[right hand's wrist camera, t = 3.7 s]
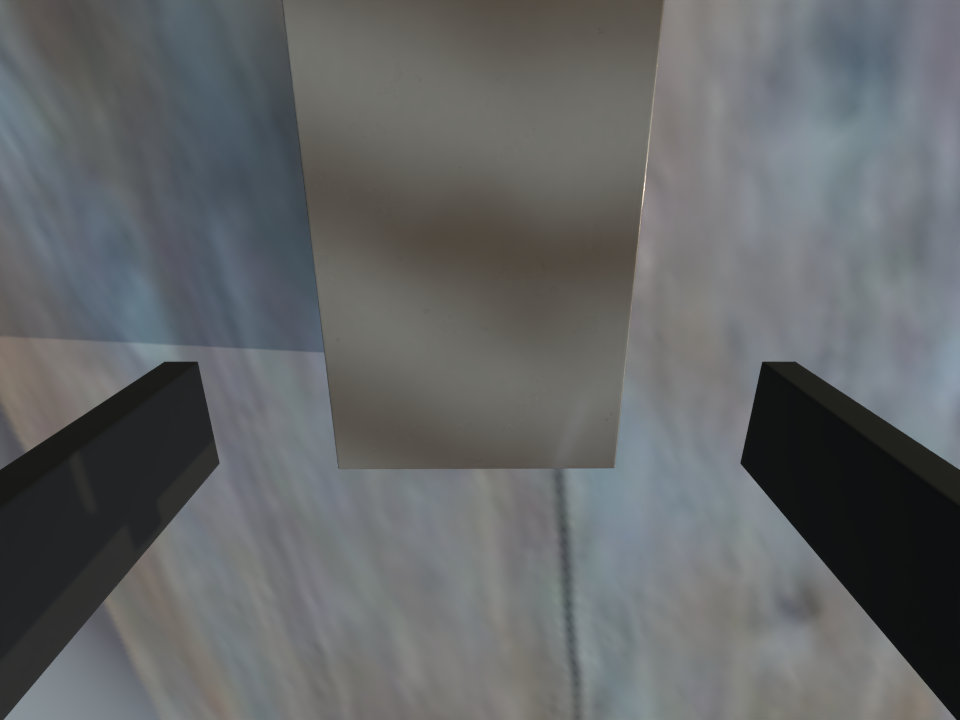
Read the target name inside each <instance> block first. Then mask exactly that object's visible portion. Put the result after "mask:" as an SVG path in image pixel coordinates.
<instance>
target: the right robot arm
mask: <svg viewBox="0 0 960 720" xmlns="http://www.w3.org/2000/svg"><path fill="white" fill-rule="evenodd" d="M218 465H219V459H218V454H217V449H216V445H215V440H214V436H213V431H212V426H211V422H210V417H209V412H208V408H207V403H206V398H205V394H204V389H203V384H202V380H201V375H200V370H199V366H198V362H164V363H162V364H161V365H159V366H158V367H156V368H154V369H153V370H151V371H150V372H148V373H147V374H145V375H144V376H142V377H141V378H139V379H138V380H136V381H135V382H133V383H132V384H130V385H129V386H127V387H126V388H124V389H123V390H121V391H120V392H118V393H116V394H115V395H113V396H112V397H110V398H109V399H107V400H106V401H104V402H103V403H101V404H100V405H98V406H97V407H95V408H94V409H92V410H91V411H89V412H88V413H86V414H85V415H83V416H82V417H80V418H78V419H77V420H75V421H74V422H72V423H71V424H69V425H68V426H66V427H65V428H63V429H62V430H60V431H59V432H57V433H56V434H54V435H53V436H51V437H50V438H48V439H47V440H45V441H44V442H42V443H40V444H39V445H37V446H36V447H34V448H33V449H31V450H30V451H28V452H27V453H25V454H24V455H22V456H21V457H19V458H18V459H16V460H15V461H13V462H12V463H10V464H9V465H7V466H6V467H4V468H2V469H1V470H0V720H4V718H5V717H6V716H7V715H8V714H9V713H10V711H11V710H12V709H13V708H14V707H15V705H16V704H17V703H18V702H19V701H20V699H21V698H22V697H23V696H24V695H25V694H26V692H27V691H28V690H29V689H30V688H31V686H32V685H33V684H34V683H35V682H36V681H37V679H38V678H39V677H40V676H41V675H42V673H43V672H44V671H45V670H46V669H47V667H48V666H49V665H50V664H51V663H52V662H53V660H54V659H55V658H56V657H57V656H58V654H59V653H60V652H61V651H62V650H63V649H64V647H65V646H66V645H67V644H68V643H69V641H70V640H71V639H72V638H73V637H74V635H75V634H76V633H77V632H78V631H79V630H80V628H81V627H82V626H83V625H84V623H85V622H86V621H87V620H88V619H89V618H90V616H91V615H92V614H93V613H94V612H95V611H96V609H97V608H98V607H99V606H100V605H101V603H102V602H103V601H104V600H105V599H106V597H107V596H108V595H109V594H110V593H111V592H112V590H113V589H114V588H115V587H116V586H117V584H118V583H119V582H120V581H121V580H122V579H123V577H124V576H125V575H126V574H127V573H128V571H129V570H130V569H131V568H132V567H133V565H134V564H135V563H136V562H137V561H138V560H139V558H140V557H141V556H142V555H143V554H144V552H145V551H146V550H147V549H148V548H149V546H150V545H151V544H152V543H153V542H154V541H155V539H156V538H157V537H158V536H159V535H160V533H161V532H162V531H163V530H164V529H165V527H166V526H167V525H168V524H169V523H170V522H171V520H172V519H173V518H174V517H175V516H176V514H177V513H178V512H179V511H180V510H181V509H182V507H183V506H184V505H185V504H186V503H187V501H188V500H189V499H190V498H191V497H192V495H193V494H194V493H195V492H196V491H197V490H198V488H199V487H200V486H201V485H202V484H203V482H204V481H205V480H206V479H207V478H208V476H209V475H210V474H211V473H212V472H213V471H214V469H215V468H216V467H217V466H218ZM741 465H742V466H743V467H744V468H745V469H746V471H747V472H748V473H749V474H750V475H751V476H752V478H753V479H754V480H755V481H756V482H757V484H758V485H759V486H760V487H761V488H762V490H763V491H764V492H765V493H766V494H767V495H768V497H769V498H770V499H771V500H772V501H773V503H774V504H775V505H776V506H777V507H778V509H779V510H780V511H781V512H782V513H783V514H784V516H785V517H786V518H787V519H788V520H789V522H790V523H791V524H792V525H793V526H794V527H795V529H796V530H797V531H798V532H799V533H800V535H801V536H802V537H803V538H804V539H805V541H806V542H807V543H808V544H809V545H810V546H811V548H812V549H813V550H814V551H815V552H816V554H817V555H818V556H819V557H820V558H821V560H822V561H823V562H824V563H825V564H826V565H827V567H828V568H829V569H830V570H831V571H832V573H833V574H834V575H835V576H836V577H837V579H838V580H839V581H840V582H841V583H842V584H843V586H844V587H845V588H846V589H847V590H848V592H849V593H850V594H851V595H852V596H853V597H854V599H855V600H856V601H857V602H858V603H859V605H860V606H861V607H862V608H863V609H864V611H865V612H866V613H867V614H868V615H869V616H870V618H871V619H872V620H873V621H874V622H875V624H876V625H877V626H878V627H879V628H880V630H881V631H882V632H883V633H884V634H885V635H886V637H887V638H888V639H889V640H890V641H891V643H892V644H893V645H894V646H895V647H896V649H897V650H898V651H899V652H900V653H901V654H902V656H903V657H904V658H905V659H906V660H907V662H908V663H909V664H910V665H911V666H912V667H913V669H914V670H915V671H916V672H917V673H918V675H919V676H920V677H921V678H922V679H923V681H924V682H925V683H926V684H927V685H928V686H929V688H930V689H931V690H932V691H933V692H934V694H935V695H936V696H937V697H938V698H939V700H940V701H941V702H942V703H943V704H944V705H945V707H946V708H947V709H948V710H949V711H950V713H951V714H952V715H953V716H954V717H955V719H956V720H960V470H959V469H958V468H956V467H954V466H953V465H951V464H950V463H948V462H947V461H945V460H944V459H942V458H941V457H939V456H938V455H936V454H935V453H933V452H932V451H930V450H929V449H927V448H926V447H924V446H923V445H921V444H920V443H918V442H916V441H915V440H913V439H912V438H910V437H909V436H907V435H906V434H904V433H903V432H901V431H900V430H898V429H897V428H895V427H894V426H892V425H891V424H889V423H888V422H886V421H885V420H883V419H882V418H880V417H878V416H877V415H875V414H874V413H872V412H871V411H869V410H868V409H866V408H865V407H863V406H862V405H860V404H859V403H857V402H856V401H854V400H853V399H851V398H850V397H848V396H847V395H845V394H844V393H842V392H840V391H839V390H837V389H836V388H834V387H833V386H831V385H830V384H828V383H827V382H825V381H824V380H822V379H821V378H819V377H818V376H816V375H815V374H813V373H812V372H810V371H809V370H807V369H806V368H804V367H802V366H801V365H799V364H798V363H796V362H762V366H761V370H760V375H759V380H758V384H757V389H756V394H755V398H754V403H753V408H752V412H751V417H750V422H749V426H748V431H747V436H746V440H745V445H744V449H743V454H742V459H741Z"/></svg>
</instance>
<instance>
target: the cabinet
mask: <svg viewBox="0 0 960 720" xmlns="http://www.w3.org/2000/svg"><path fill="white" fill-rule="evenodd" d="M664 1H665V0H282V5H283V14H284V22H285V30H286V39H287V47H288V55H289V63H290V72H291V80H292V88H293V97H294V105H295V113H296V121H297V130H298V138H299V146H300V155H301V163H302V171H303V179H304V188H305V196H306V204H307V213H308V221H309V229H310V237H311V246H312V254H313V262H314V271H315V279H316V287H317V295H318V304H319V312H320V320H321V329H322V337H323V345H324V353H325V362H326V370H327V378H328V387H329V395H330V403H331V411H332V420H333V428H334V436H335V445H336V453H337V461H338V468H339V469H508V468H614V467H615V460H616V451H617V442H618V432H619V423H620V413H621V404H622V395H623V385H624V376H625V367H626V357H627V348H628V338H629V329H630V320H631V310H632V301H633V292H634V282H635V273H636V263H637V254H638V245H639V235H640V226H641V217H642V207H643V198H644V188H645V179H646V170H647V160H648V151H649V142H650V132H651V123H652V113H653V104H654V95H655V85H656V76H657V67H658V57H659V48H660V38H661V29H662V20H663V10H664Z"/></svg>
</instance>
